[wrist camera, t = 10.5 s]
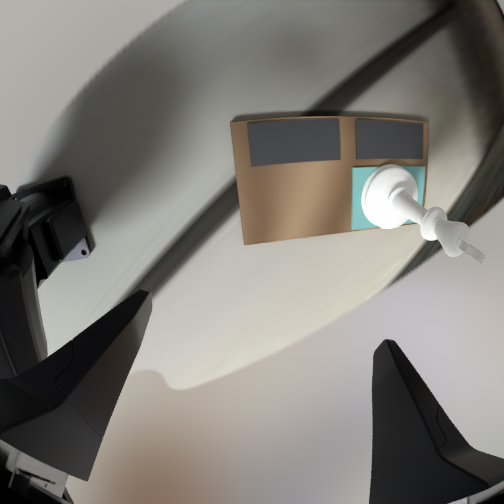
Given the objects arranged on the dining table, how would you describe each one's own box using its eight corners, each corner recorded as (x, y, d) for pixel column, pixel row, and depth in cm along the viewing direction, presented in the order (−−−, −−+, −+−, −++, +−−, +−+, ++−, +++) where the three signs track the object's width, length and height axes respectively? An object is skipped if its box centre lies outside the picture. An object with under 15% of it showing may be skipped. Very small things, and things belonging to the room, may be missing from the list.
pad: (350, 229, 21) (351, 230, 20) (352, 167, 19) (353, 167, 18) (418, 221, 21) (420, 222, 21) (423, 166, 19) (425, 166, 19)
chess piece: (376, 153, 18) (480, 195, 9) (422, 179, 19) (517, 229, 10) (350, 215, 20) (432, 292, 11) (398, 233, 21) (478, 305, 12)
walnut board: (243, 241, 21) (244, 245, 20) (229, 122, 17) (230, 122, 16) (418, 220, 22) (422, 223, 21) (423, 121, 18) (428, 122, 17)
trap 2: (251, 166, 18) (251, 166, 18) (246, 123, 17) (247, 123, 16) (338, 159, 18) (340, 159, 18) (337, 119, 17) (338, 119, 17)
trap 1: (355, 158, 18) (357, 159, 18) (354, 119, 17) (355, 119, 17) (421, 158, 19) (422, 159, 18) (421, 123, 17) (423, 124, 17)
